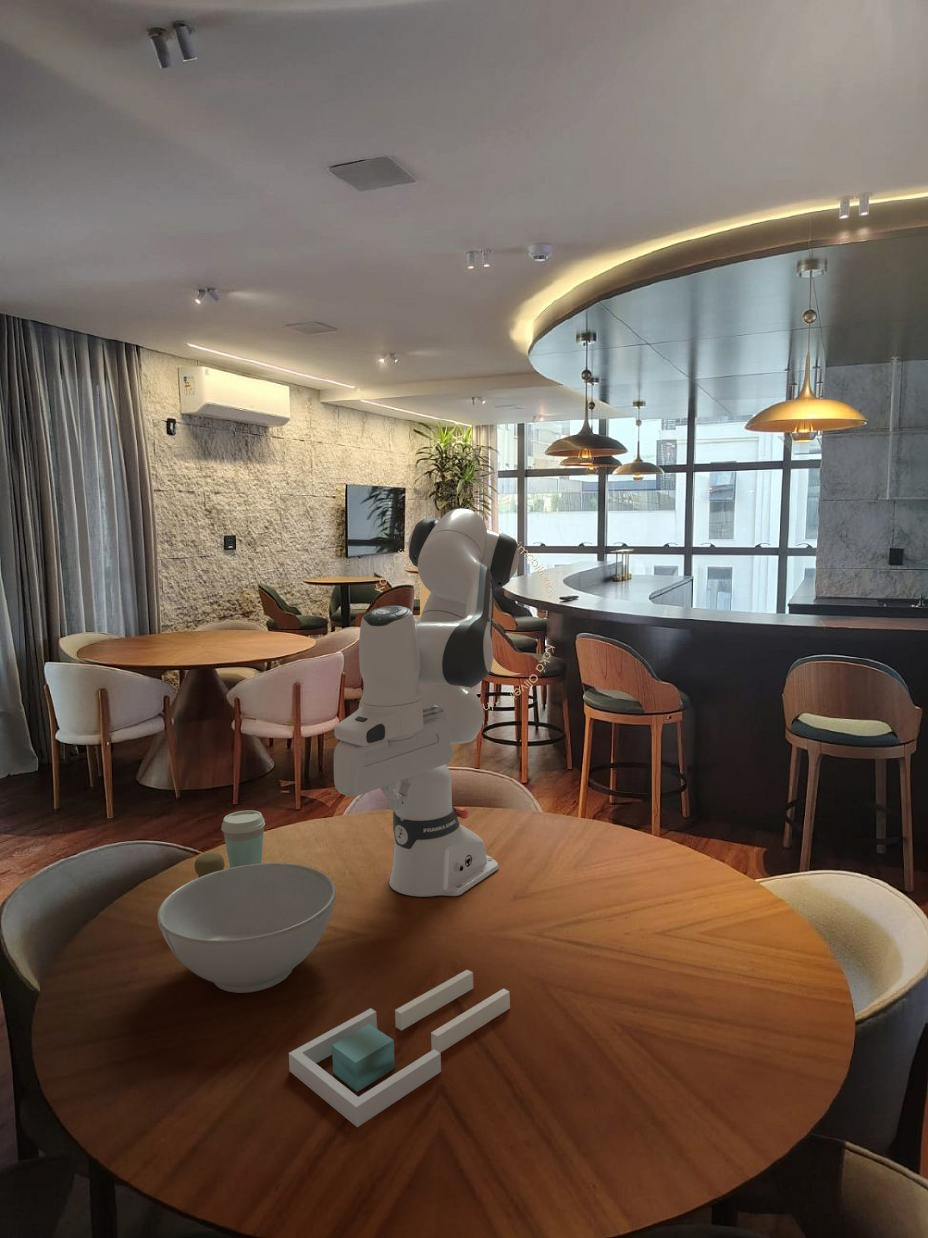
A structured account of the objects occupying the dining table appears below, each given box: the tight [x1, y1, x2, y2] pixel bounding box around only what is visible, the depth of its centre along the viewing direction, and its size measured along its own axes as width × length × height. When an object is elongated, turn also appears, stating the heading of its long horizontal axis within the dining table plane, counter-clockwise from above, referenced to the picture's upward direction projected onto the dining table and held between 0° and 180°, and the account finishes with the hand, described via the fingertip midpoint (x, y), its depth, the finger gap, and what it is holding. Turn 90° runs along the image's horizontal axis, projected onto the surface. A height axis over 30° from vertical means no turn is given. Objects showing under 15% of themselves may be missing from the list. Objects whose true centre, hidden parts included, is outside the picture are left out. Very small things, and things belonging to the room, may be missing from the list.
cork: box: [194, 852, 226, 878], centre depth 147 cm, size 6×6×11 cm
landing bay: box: [288, 1007, 442, 1128], centre depth 103 cm, size 13×14×2 cm
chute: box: [394, 969, 511, 1053], centre depth 114 cm, size 14×9×2 cm, turn 134°
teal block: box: [331, 1024, 396, 1093], centre depth 103 cm, size 6×5×4 cm
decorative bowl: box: [157, 862, 337, 994], centre depth 127 cm, size 27×27×12 cm
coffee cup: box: [220, 809, 266, 868], centre depth 164 cm, size 8×9×12 cm
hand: (399, 807), depth 122 cm, fingers closed
